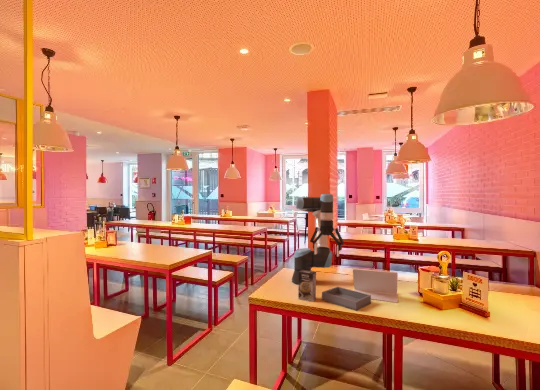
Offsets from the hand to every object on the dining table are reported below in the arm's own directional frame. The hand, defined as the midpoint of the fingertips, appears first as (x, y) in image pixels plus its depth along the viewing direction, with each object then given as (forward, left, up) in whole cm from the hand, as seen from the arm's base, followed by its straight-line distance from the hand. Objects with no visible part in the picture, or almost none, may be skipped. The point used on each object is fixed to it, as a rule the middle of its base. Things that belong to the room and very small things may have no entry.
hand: (326, 255), depth 166 cm
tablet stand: (+17, +26, -26) cm, 40 cm away
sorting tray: (+11, +3, -25) cm, 28 cm away
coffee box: (-7, -10, -26) cm, 28 cm away
